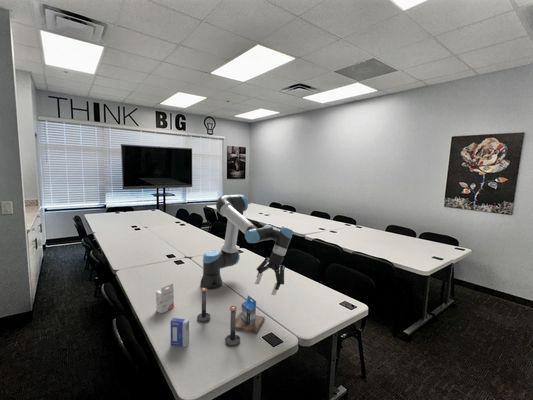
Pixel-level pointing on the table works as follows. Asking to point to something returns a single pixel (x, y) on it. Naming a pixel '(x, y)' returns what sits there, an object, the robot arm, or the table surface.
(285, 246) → the robot arm
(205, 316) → the cord stand far
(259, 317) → the walnut board
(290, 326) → the table surface
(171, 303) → the ink cartridge box
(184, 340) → the walkman
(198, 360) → the table surface
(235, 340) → the cord stand near
